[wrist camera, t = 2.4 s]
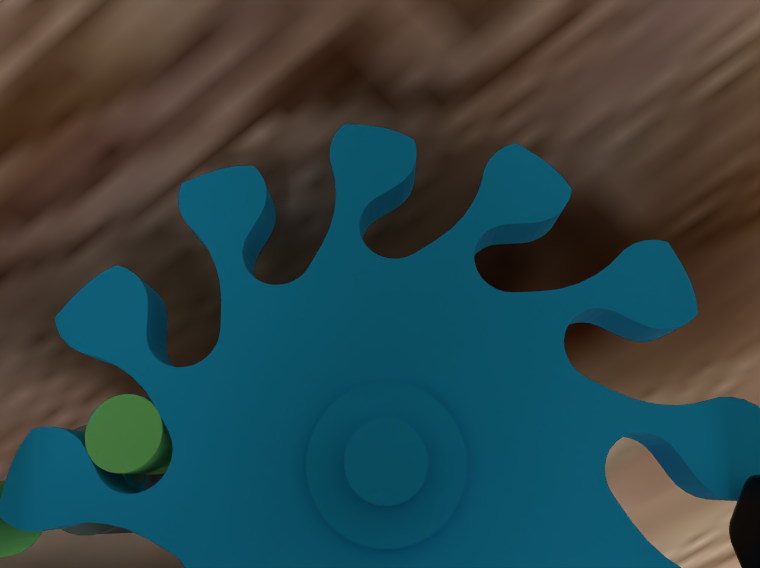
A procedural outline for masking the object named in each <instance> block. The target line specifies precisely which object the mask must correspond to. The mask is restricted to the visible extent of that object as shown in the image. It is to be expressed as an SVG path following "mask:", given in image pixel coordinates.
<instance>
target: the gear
mask: <svg viewBox="0 0 760 568" xmlns="http://www.w3.org/2000/svg"><path fill="white" fill-rule="evenodd" d="M416 157H417V152H416V144H415V140H414V139H412V138H410V137H408V136H406V135H404V134H402V133H400V132H397V131H393V130H390V129H387V128H381V127H375V126H369V125H358V124H344V125H343V126H342V127H341V128H340V129H339V130H338V131H337V133H336V134H335V136H334V138H333V139H332V143H331V147H330V162H331V167H332V172H333V177H334V182H335V186H336V201H335V211H334V215H333V218H332V222H331V225H330V229H329V231H328V233H327V235H326V237H325V239H324V241H323V243H322V245H321V247H320V249H319V250H318V252H317V254H316V256H315V257H314V259H313V261H312V262H311V264H310V266H309V267H308V269H307V270H306V271H305V273H304V274H302V275H301V276H300V277H299V278H298V279H296V280H294V281H292V282H290V283H286V284H282V285H271V284H266V283H263V282H261V281H259V280H257V279H256V278H255V276H254V267H255V261H256V259H257V257H258V255H259V253H260V252H261V250H262V248H263V247H264V245H265V243H266V242H267V240H268V238H269V237H270V235H271V233H272V231H273V229H274V226H275V221H276V209H275V206H274V202H273V200H272V197H271V195H270V193H269V190H268V188H267V186H266V183H265V181H264V179H263V177H262V175H261V174H260V172H259V171H258V170H257V169H256V168H255V167H254V166H234V167H228V168H222V169H219V170H216V171H212V172H209V173H206V174H203V175H201V176H198V177H196V178H193V179H191V180H188V181H186V182H183V183H182V184H181V188H180V191H179V198H178V205H179V209H180V213H181V215H182V217H183V218H184V220H185V222H186V223H187V224H188V226H189V227H190V228H191V229H192V231H193V232H194V233H195V234H196V236H197V237H198V238H199V239H200V241H201V242H202V243H203V244H204V245H205V246H206V247H207V248H208V249H209V252H210V254H211V256H212V258H213V261H214V263H215V265H216V268H217V273H218V277H219V281H220V289H221V327H220V335H219V339H218V341H217V344H216V346H215V348H214V349H213V350H212V352H211V353H210V354H209V355H208V356H207V357H206V358H205V359H204V360H202V361H200V362H198V363H197V364H195V365H191V366H188V367H174V366H173V365H172V363H171V362H170V360H169V358H168V355H167V349H166V339H167V322H168V319H167V310H166V306H165V303H164V301H163V300H162V298H161V296H160V295H159V294H158V293H157V292H156V291H155V290H154V289H153V288H152V287H150V286H149V285H148V284H147V283H145V282H144V281H143V280H142V279H140V278H139V277H138V276H137V275H135V274H134V273H133V272H131V271H129V270H128V269H126V268H124V267H120V266H117V265H116V266H114V267H112V268H110V269H108V270H106V271H104V272H102V273H101V274H99V275H98V276H97V277H95V278H94V279H93V280H91V281H90V282H89V283H87V284H86V285H85V286H84V287H83V288H82V289H81V290H80V291H79V292H78V293H77V294H76V295H75V296H74V297H73V298H72V299H71V300H70V301H69V302H68V303H67V304H66V305H65V307H64V308H63V309H62V310H61V311H60V312H59V313H58V314H57V316H56V317H55V321H56V327H57V330H58V332H59V334H60V336H61V338H62V339H63V340H64V341H65V342H66V343H67V344H68V345H69V346H70V347H72V348H73V349H75V350H77V351H79V352H81V353H83V354H86V355H88V356H90V357H93V358H95V359H98V360H100V361H102V362H105V363H109V364H112V365H116V366H118V367H119V368H121V369H122V370H123V371H125V372H126V373H128V374H129V375H130V376H132V377H133V378H134V379H135V380H136V381H137V383H138V384H139V385H140V386H141V387H142V388H143V389H144V390H145V391H146V393H147V394H148V396H149V397H150V399H151V400H150V399H147V398H144V397H141V396H138V395H135V394H123V395H117V396H115V397H112V398H110V399H108V400H107V401H105V402H104V403H102V404H101V405H100V406H99V407H98V408H97V409H96V410H95V411H94V413H93V414H92V416H91V417H90V419H89V422H88V424H87V425H85V426H82V427H79V428H77V429H75V430H70V429H64V428H57V427H40V428H35V429H32V430H31V432H30V433H29V434H28V436H27V437H26V439H25V440H24V441H23V443H22V444H21V446H20V448H19V450H18V452H17V454H16V456H15V458H14V460H13V462H12V464H11V467H10V470H9V473H8V475H7V478H6V481H0V558H2V557H7V556H12V555H15V554H19V553H21V552H23V551H25V550H26V549H28V548H29V547H30V546H31V545H32V544H34V543H35V541H36V540H37V539H38V538H39V536H40V534H41V533H42V531H45V530H52V529H62V530H64V531H66V532H69V533H72V534H76V535H95V534H109V533H137V534H139V535H141V536H143V537H145V538H147V539H149V540H150V541H152V542H154V543H155V544H157V545H159V546H160V547H162V548H164V549H165V550H167V551H169V552H170V553H172V554H173V555H174V556H176V557H177V558H178V559H179V560H180V561H181V563H182V564H183V565H184V567H185V568H681V567H679V566H678V565H676V564H675V563H673V562H672V561H670V560H669V559H667V558H666V557H665V556H664V555H663V554H661V553H660V552H659V551H658V550H657V549H656V548H655V547H654V546H653V545H651V544H650V543H649V542H648V541H647V540H646V538H645V537H644V536H643V535H642V534H641V532H640V531H639V530H638V529H637V528H636V526H635V525H634V524H633V523H632V521H631V520H630V519H629V517H628V516H627V514H626V513H625V511H624V510H623V509H622V507H621V506H620V504H619V503H618V502H617V500H616V499H615V497H614V496H613V494H612V492H611V491H610V489H609V487H608V484H607V481H606V477H605V462H606V457H607V455H608V452H609V450H610V448H611V447H612V446H613V445H614V443H615V442H616V441H617V440H619V439H620V438H622V437H628V438H631V439H634V440H636V441H638V442H640V443H641V444H643V445H644V446H645V447H646V448H647V449H648V450H649V451H650V452H651V453H652V454H653V455H654V457H655V458H656V460H657V461H658V462H659V464H660V465H661V466H662V468H663V469H664V470H665V472H666V473H667V474H668V476H669V477H670V478H671V479H672V480H673V481H674V483H675V484H676V485H677V486H679V487H680V488H681V489H683V490H684V491H685V492H687V493H689V494H691V495H693V496H695V497H699V498H703V499H711V500H731V501H738V499H739V496H740V493H741V491H742V488H743V485H744V483H745V481H746V480H747V479H748V478H749V477H750V476H753V475H760V408H759V407H758V406H757V405H755V404H752V403H750V402H748V401H746V400H744V399H739V398H734V397H718V398H714V399H710V400H707V401H703V402H699V403H695V404H686V405H661V404H653V403H648V402H644V401H640V400H635V399H632V398H630V397H627V396H625V395H622V394H620V393H617V392H615V391H612V390H610V389H608V388H606V387H604V386H602V385H600V384H598V383H596V382H594V381H592V380H590V379H588V378H586V377H585V376H583V375H582V374H580V373H579V372H578V371H577V370H576V369H575V368H574V367H573V366H572V364H571V363H570V361H569V359H568V358H567V355H566V352H565V347H564V337H565V332H566V329H567V327H568V325H570V324H573V323H580V322H584V323H591V324H594V325H597V326H599V327H601V328H603V329H606V330H608V331H610V332H612V333H614V334H616V335H618V336H620V337H623V338H625V339H628V340H631V341H638V342H645V341H652V340H656V339H659V338H661V337H663V336H665V335H666V334H668V333H670V332H672V331H674V330H676V329H677V328H679V327H681V326H683V325H685V324H686V323H688V322H690V321H691V320H692V319H693V318H694V317H695V316H696V315H697V314H698V308H697V301H696V296H695V293H694V290H693V287H692V284H691V281H690V279H689V277H688V275H687V273H686V271H685V269H684V267H683V265H682V263H681V262H680V260H679V259H678V257H677V255H676V254H675V252H674V251H673V249H672V247H671V246H670V244H669V243H668V242H666V241H661V240H644V241H641V242H638V243H634V244H632V245H631V246H629V247H628V248H626V249H625V250H623V252H622V253H621V254H620V255H619V256H618V257H617V258H616V259H615V260H614V261H613V262H612V263H611V264H610V265H609V266H607V267H606V268H605V269H603V270H602V271H601V272H599V273H598V274H597V275H595V276H593V277H591V278H589V279H587V280H585V281H583V282H581V283H578V284H575V285H571V286H568V287H565V288H561V289H555V290H547V291H535V292H504V291H501V290H498V289H495V288H494V287H492V286H490V285H489V284H488V283H487V282H485V281H484V280H483V279H482V277H481V276H480V274H479V273H478V271H477V268H476V265H475V260H474V256H475V255H476V253H478V252H479V251H480V250H482V249H483V248H485V247H488V246H490V245H496V244H513V243H526V242H531V241H534V240H537V239H539V238H541V237H542V236H544V235H545V234H546V233H547V232H548V231H549V230H550V229H551V228H552V227H553V225H554V224H555V222H556V220H557V219H558V217H559V216H560V214H561V212H562V211H563V209H564V208H565V206H566V204H567V202H568V201H569V199H570V195H571V192H572V189H571V188H570V186H569V185H568V183H567V182H566V181H565V179H564V178H563V177H562V176H561V175H560V174H559V173H558V172H557V171H556V170H555V169H554V168H553V167H552V166H551V165H549V164H548V163H547V162H545V161H544V160H542V159H541V158H540V157H538V156H537V155H535V154H534V153H532V152H530V151H529V150H527V149H525V148H524V147H522V146H520V145H519V144H517V143H514V144H511V145H508V146H505V147H504V148H502V149H500V150H499V151H497V152H496V153H495V154H494V155H493V156H492V157H491V158H490V159H489V161H488V163H487V165H486V167H485V169H484V173H483V176H482V180H481V183H480V186H479V190H478V193H477V195H476V197H475V200H474V202H473V203H472V205H471V206H470V208H469V209H468V210H467V212H466V213H465V215H464V216H463V217H462V218H461V219H460V220H459V221H458V222H457V223H456V224H455V226H454V227H453V228H452V229H451V230H449V231H448V232H446V233H445V234H444V235H442V236H441V237H440V238H438V239H437V240H435V241H434V242H432V243H430V244H429V245H427V246H426V247H424V248H422V249H421V250H419V251H417V252H416V253H414V254H412V255H410V256H407V257H404V258H399V259H390V258H385V257H382V256H379V255H378V254H376V253H374V252H372V251H371V250H370V249H369V248H368V247H367V246H366V244H365V243H364V241H363V236H364V234H365V232H366V230H367V229H368V227H369V226H370V225H371V224H372V223H373V222H375V221H376V220H377V219H379V218H381V217H382V216H384V215H386V214H387V213H389V212H391V211H392V210H394V209H396V208H397V207H399V206H400V205H401V204H403V203H404V202H405V200H406V199H407V198H408V197H409V195H410V193H411V192H412V190H413V186H414V182H415V171H416Z"/></svg>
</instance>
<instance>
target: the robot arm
mask: <svg viewBox="0 0 760 568" xmlns="http://www.w3.org/2000/svg"><path fill="white" fill-rule="evenodd" d="M729 534H730V539H731V543H732V546H733V548H734V551H735V553H736V555H737V558H738V560H739V562H740V565H741V567H742V568H760V475H753V476H750V477H749V478H748V479H747V480H746V481H745V483H744V485H743V488H742V491H741V493H740V496H739V499H738V501H737V504H736V507H735V509H734V512H733V515H732V517H731V520H730V525H729Z"/></svg>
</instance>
